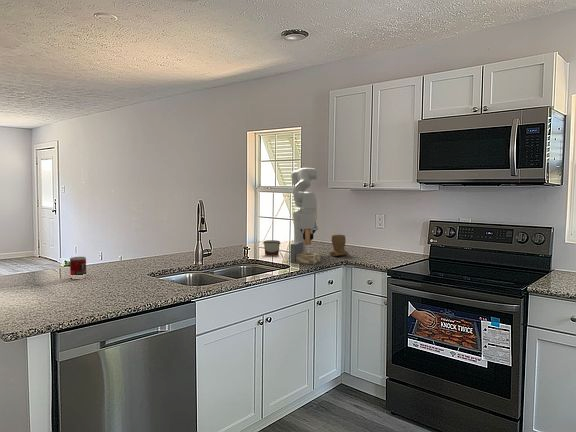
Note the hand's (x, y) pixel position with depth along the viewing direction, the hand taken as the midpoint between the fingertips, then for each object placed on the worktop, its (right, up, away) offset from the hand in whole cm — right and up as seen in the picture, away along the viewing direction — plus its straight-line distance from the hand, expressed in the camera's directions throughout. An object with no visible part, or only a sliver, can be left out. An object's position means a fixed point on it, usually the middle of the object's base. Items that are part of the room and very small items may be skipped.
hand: (308, 239), depth 287 cm
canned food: (-124, -18, -50) cm, 135 cm away
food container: (-24, -13, +31) cm, 41 cm away
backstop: (-7, -14, +5) cm, 17 cm away
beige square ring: (0, -14, +1) cm, 15 cm away
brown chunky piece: (+23, -13, +29) cm, 39 cm away
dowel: (0, -3, 0) cm, 3 cm away
